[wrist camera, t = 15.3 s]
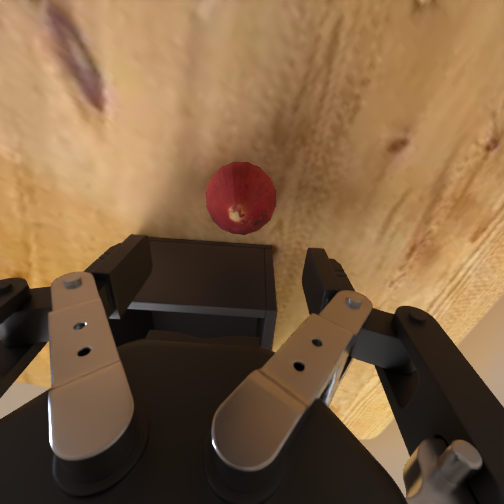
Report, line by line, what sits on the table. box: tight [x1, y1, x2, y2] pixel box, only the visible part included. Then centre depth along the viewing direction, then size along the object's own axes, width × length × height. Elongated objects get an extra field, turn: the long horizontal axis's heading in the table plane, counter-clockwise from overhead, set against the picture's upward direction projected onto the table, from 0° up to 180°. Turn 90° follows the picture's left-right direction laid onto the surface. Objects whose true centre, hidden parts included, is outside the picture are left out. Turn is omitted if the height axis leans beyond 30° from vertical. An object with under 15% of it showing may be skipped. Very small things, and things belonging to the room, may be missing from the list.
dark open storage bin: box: [108, 237, 277, 351], centre depth 27 cm, size 18×15×10 cm
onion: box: [206, 162, 276, 235], centre depth 21 cm, size 6×6×8 cm
